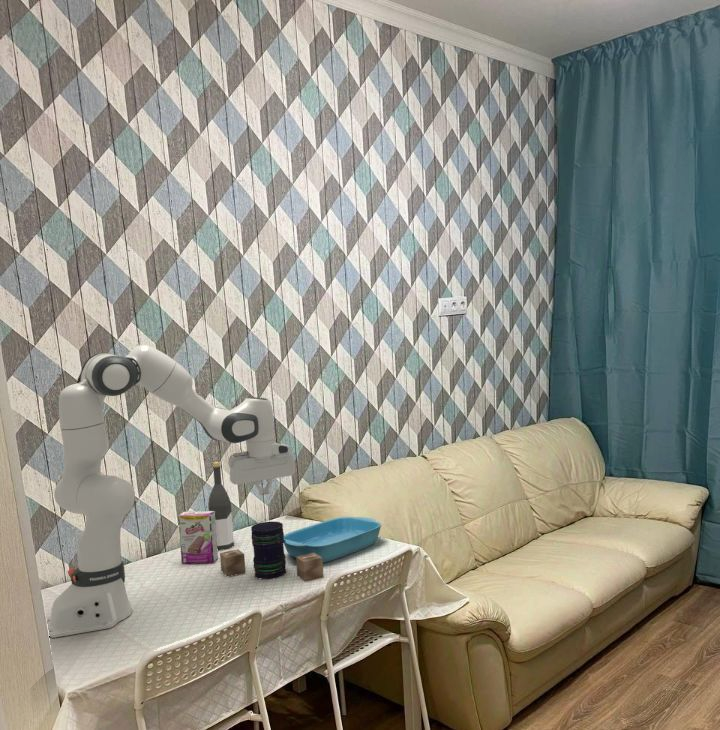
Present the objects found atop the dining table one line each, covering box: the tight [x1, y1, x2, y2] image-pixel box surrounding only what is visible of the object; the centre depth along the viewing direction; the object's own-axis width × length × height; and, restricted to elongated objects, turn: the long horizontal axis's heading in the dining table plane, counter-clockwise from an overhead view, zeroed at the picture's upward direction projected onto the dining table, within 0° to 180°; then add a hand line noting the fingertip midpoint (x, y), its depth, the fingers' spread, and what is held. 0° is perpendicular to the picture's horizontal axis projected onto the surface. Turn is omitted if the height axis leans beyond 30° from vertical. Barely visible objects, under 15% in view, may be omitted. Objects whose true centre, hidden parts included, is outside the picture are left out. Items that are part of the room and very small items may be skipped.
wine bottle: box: [207, 461, 235, 550], centre depth 246 cm, size 8×8×30 cm
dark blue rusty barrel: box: [250, 521, 287, 580], centre depth 216 cm, size 10×10×15 cm
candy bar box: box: [177, 510, 219, 565], centre depth 232 cm, size 11×5×16 cm, turn 84°
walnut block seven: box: [219, 548, 246, 577], centre depth 220 cm, size 6×6×6 cm
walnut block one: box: [295, 553, 324, 583], centre depth 211 cm, size 6×6×6 cm
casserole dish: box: [283, 516, 382, 564], centre depth 236 cm, size 37×22×7 cm, turn 137°
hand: (264, 494), depth 215 cm, fingers closed
